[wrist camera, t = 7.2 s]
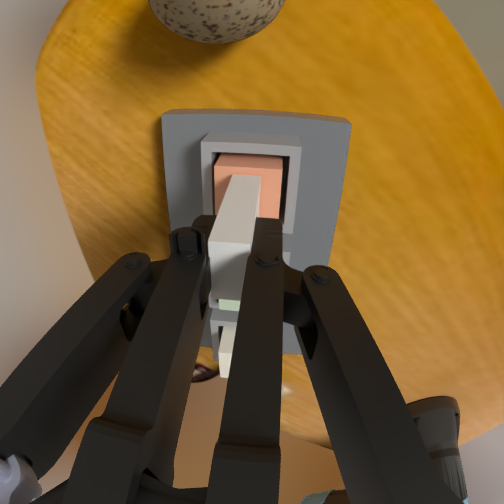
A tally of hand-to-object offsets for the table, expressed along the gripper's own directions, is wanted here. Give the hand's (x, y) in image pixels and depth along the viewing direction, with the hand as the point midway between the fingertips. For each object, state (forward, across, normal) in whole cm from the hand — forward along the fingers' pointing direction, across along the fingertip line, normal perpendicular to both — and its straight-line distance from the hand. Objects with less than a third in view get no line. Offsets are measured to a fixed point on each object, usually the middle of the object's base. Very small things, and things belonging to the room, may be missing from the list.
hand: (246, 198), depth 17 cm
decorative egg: (+6, +2, -12) cm, 14 cm away
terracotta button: (+3, 0, 0) cm, 3 cm away
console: (+6, 0, +7) cm, 9 cm away
